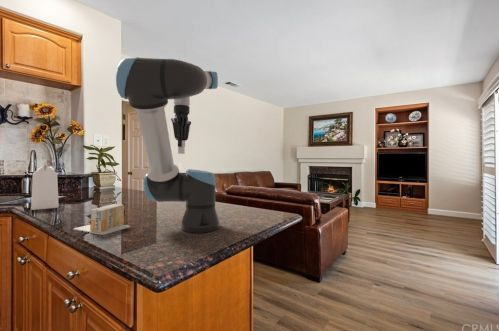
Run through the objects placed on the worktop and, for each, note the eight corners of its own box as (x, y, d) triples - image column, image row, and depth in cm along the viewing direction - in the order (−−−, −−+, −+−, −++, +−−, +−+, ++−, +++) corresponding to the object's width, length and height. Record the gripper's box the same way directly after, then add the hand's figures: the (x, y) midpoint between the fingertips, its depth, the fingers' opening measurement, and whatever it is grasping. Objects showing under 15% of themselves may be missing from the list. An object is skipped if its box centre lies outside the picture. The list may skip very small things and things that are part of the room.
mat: (130, 227, 101) (130, 225, 101) (102, 235, 90) (102, 233, 90) (102, 222, 107) (102, 221, 107) (73, 229, 96) (73, 228, 96)
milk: (31, 206, 141) (31, 160, 140) (57, 204, 148) (57, 160, 148) (31, 209, 132) (30, 160, 131) (58, 207, 139) (58, 160, 138)
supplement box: (124, 223, 104) (101, 233, 91) (114, 222, 105) (89, 231, 92) (125, 204, 104) (101, 210, 91) (114, 203, 105) (90, 209, 92)
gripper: (183, 108, 131) (183, 154, 131) (166, 103, 119) (166, 153, 119) (195, 107, 128) (195, 154, 128) (179, 102, 116) (179, 153, 116)
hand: (181, 153), depth 124 cm, fingers closed
